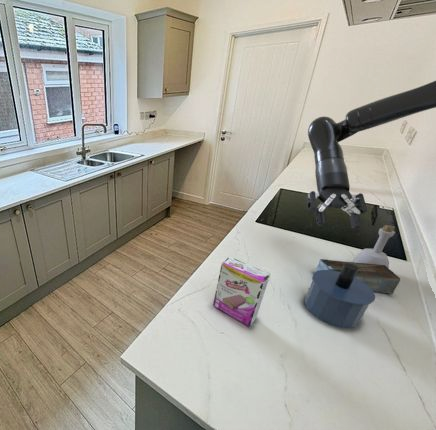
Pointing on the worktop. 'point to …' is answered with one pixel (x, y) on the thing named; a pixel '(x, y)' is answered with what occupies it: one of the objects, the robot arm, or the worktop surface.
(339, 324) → the pot
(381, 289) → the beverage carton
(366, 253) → the potion bottle
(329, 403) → the worktop surface
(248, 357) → the worktop surface
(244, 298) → the candy bar box
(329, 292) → the lid
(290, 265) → the worktop surface
